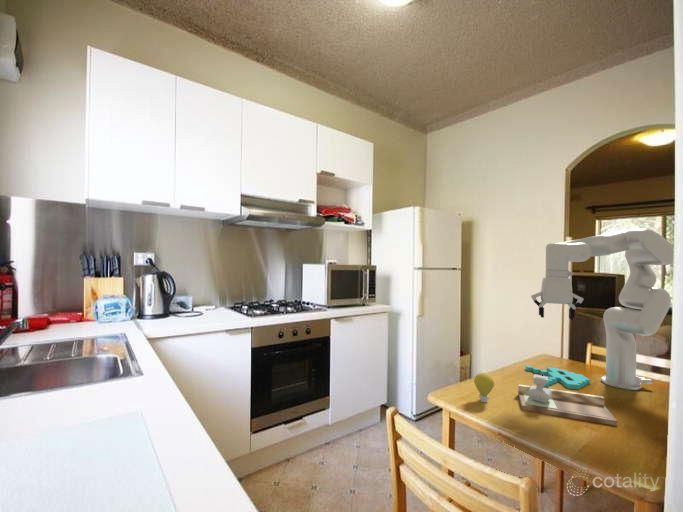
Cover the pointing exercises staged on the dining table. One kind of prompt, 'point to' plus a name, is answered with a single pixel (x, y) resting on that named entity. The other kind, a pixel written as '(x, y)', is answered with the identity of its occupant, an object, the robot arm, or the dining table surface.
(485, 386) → the light bulb
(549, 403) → the end mark
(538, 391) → the stamp
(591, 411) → the brown piece
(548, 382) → the teal pixel sprite
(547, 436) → the dining table surface
